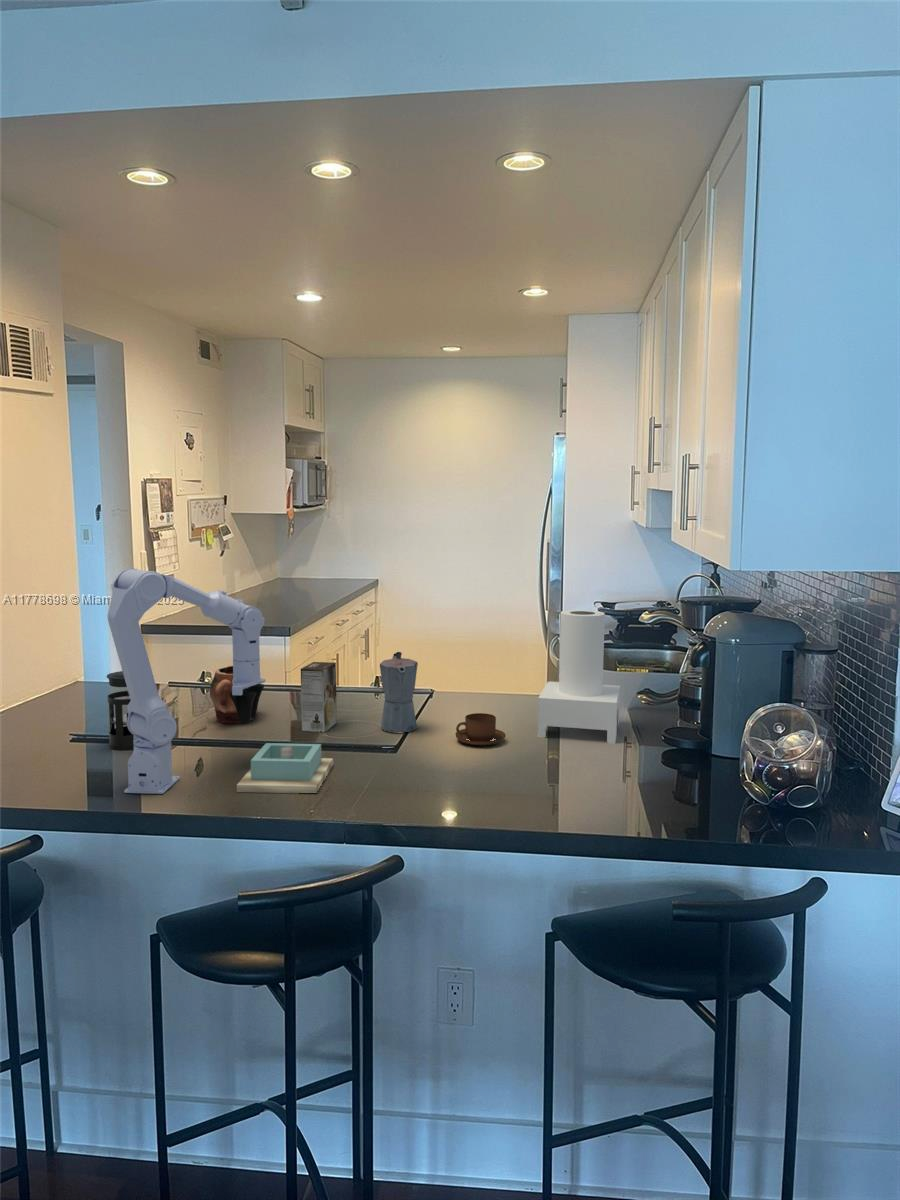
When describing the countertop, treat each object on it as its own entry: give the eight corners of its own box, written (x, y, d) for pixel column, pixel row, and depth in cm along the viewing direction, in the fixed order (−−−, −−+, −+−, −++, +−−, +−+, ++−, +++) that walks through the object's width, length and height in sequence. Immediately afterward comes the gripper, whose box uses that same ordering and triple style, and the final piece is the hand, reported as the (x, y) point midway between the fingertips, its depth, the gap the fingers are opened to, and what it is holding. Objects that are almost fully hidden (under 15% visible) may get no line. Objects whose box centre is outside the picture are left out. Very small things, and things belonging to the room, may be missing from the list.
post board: (316, 793, 170) (316, 762, 169) (236, 792, 171) (236, 760, 170) (333, 765, 188) (332, 736, 187) (261, 763, 189) (260, 734, 188)
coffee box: (314, 721, 223) (313, 661, 221) (337, 723, 222) (336, 662, 220) (301, 731, 214) (300, 668, 212) (325, 732, 213) (324, 669, 211)
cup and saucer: (478, 752, 198) (478, 726, 198) (445, 740, 207) (445, 715, 207) (515, 743, 206) (516, 718, 205) (482, 732, 215) (482, 708, 214)
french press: (98, 749, 198) (93, 651, 195) (119, 737, 208) (115, 644, 205) (145, 751, 197) (141, 653, 194) (165, 740, 206) (161, 645, 203)
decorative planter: (244, 732, 213) (242, 677, 211) (197, 730, 214) (195, 676, 212) (270, 712, 232) (269, 661, 231) (226, 710, 234) (225, 660, 232)
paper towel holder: (537, 737, 210) (539, 616, 206) (547, 718, 228) (549, 606, 224) (615, 743, 206) (619, 619, 202) (618, 723, 224) (622, 609, 220)
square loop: (309, 780, 173) (309, 761, 173) (251, 779, 174) (250, 760, 173) (321, 762, 185) (321, 744, 185) (266, 761, 186) (266, 743, 185)
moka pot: (385, 738, 208) (384, 657, 206) (373, 721, 223) (373, 646, 221) (423, 735, 211) (423, 655, 209) (409, 719, 226) (409, 644, 223)
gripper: (254, 666, 180) (256, 729, 182) (273, 653, 195) (274, 711, 196) (221, 665, 181) (223, 728, 182) (242, 653, 195) (243, 711, 197)
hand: (247, 719), depth 189 cm, fingers open, 4 cm apart
